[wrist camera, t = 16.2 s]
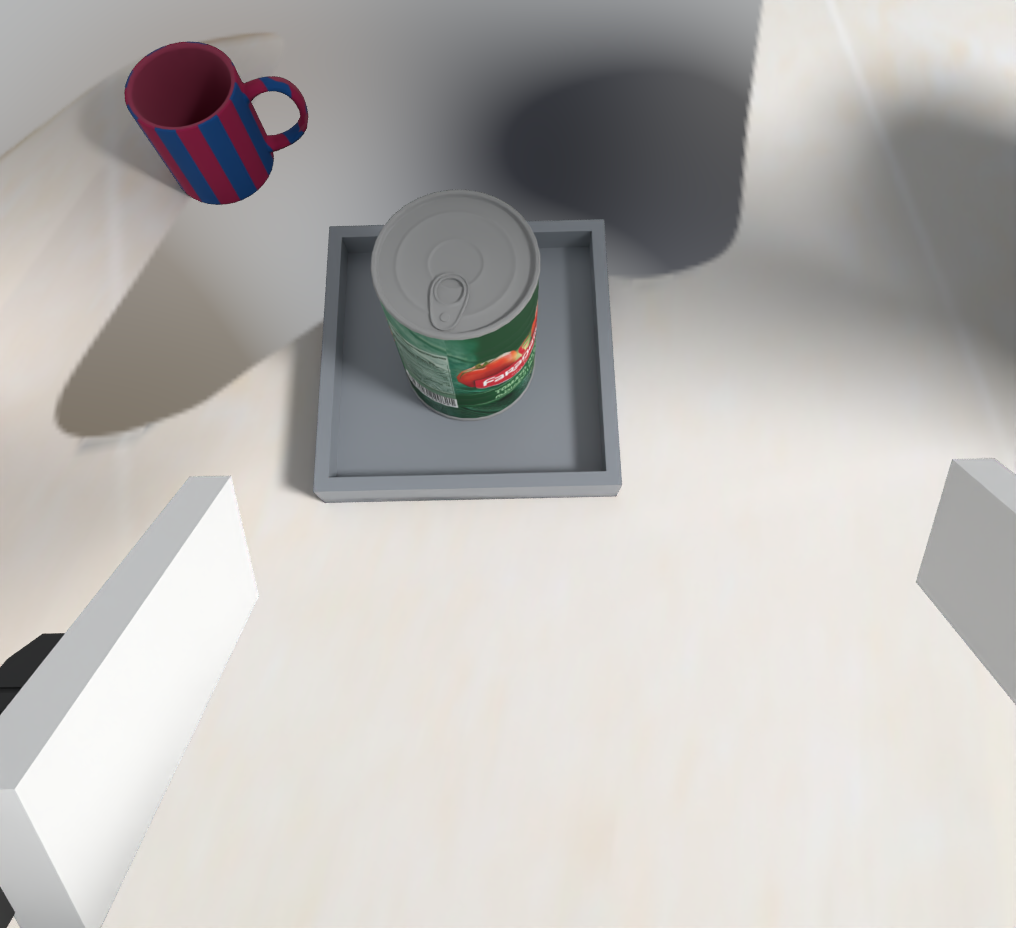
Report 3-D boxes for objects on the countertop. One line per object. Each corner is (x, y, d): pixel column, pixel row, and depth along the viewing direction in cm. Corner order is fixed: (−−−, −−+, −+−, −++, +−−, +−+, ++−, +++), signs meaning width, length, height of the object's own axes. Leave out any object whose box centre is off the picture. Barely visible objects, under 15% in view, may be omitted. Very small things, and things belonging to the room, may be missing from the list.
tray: (599, 242, 47) (604, 219, 45) (616, 496, 42) (621, 484, 40) (339, 249, 47) (329, 226, 45) (324, 502, 42) (313, 491, 40)
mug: (181, 125, 51) (131, 42, 44) (324, 120, 51) (295, 37, 44) (171, 207, 49) (117, 133, 42) (319, 202, 49) (288, 127, 42)
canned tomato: (418, 295, 45) (388, 178, 35) (543, 311, 45) (551, 197, 34) (393, 413, 43) (353, 325, 33) (525, 431, 43) (527, 348, 32)
